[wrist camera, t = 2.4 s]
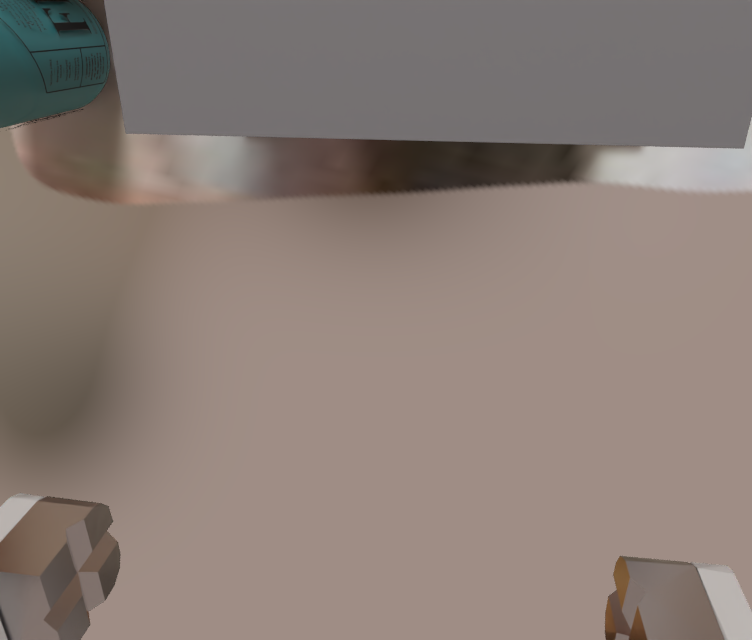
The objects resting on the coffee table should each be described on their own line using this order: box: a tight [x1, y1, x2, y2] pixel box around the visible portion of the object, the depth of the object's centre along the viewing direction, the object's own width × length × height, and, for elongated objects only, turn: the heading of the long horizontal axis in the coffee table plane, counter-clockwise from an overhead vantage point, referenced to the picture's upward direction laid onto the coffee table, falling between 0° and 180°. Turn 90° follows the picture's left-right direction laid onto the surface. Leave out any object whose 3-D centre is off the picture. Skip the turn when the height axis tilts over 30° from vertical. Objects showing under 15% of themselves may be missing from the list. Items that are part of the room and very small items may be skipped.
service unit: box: [104, 0, 752, 149], centre depth 25 cm, size 22×10×18 cm, turn 90°
